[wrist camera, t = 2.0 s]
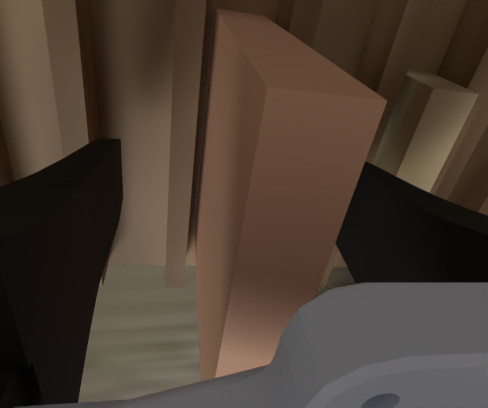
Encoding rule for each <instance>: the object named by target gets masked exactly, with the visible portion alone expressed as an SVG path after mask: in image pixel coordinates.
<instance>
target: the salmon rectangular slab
mask: <svg viewBox="0 0 488 408" xmlns="http://www.w3.org/2000/svg"><path fill="white" fill-rule="evenodd" d="M386 103H387V100H386V99H384V98H383V97H381V96H380V95H378V94H377V93H375V92H374V91H373V90H371V89H370V88H368V87H367V86H365V85H364V84H362V83H361V82H360V81H358V80H357V79H355V78H354V77H352V76H351V75H349V74H348V73H347V72H345V71H344V70H342V69H341V68H339V67H338V66H336V65H335V64H333V63H332V62H331V61H329V60H328V59H326V58H325V57H323V56H322V55H320V54H319V53H318V52H316V51H315V50H313V49H312V48H310V47H309V46H307V45H306V44H305V43H303V42H302V41H300V40H299V39H297V38H296V37H294V36H293V35H292V34H290V33H289V32H287V31H286V30H284V29H283V28H281V27H280V26H279V25H277V24H276V23H274V22H273V21H271V20H270V19H268V18H267V17H266V16H263V15H256V14H250V13H243V12H237V11H230V10H224V9H217V8H215V14H214V25H213V36H212V47H211V58H210V69H209V80H208V91H207V102H206V113H205V124H204V135H203V146H202V157H201V168H200V179H199V190H198V201H197V212H196V223H195V255H196V278H197V300H198V323H199V345H200V368H201V381H205V380H209V379H213V378H217V377H221V376H225V375H229V374H233V373H237V372H241V371H245V370H249V369H253V368H257V367H261V366H265V365H268V364H270V363H271V361H272V359H273V357H274V355H275V352H276V349H277V346H278V343H279V340H280V337H281V333H282V331H283V330H284V328H285V327H286V326H287V324H288V323H289V321H290V320H291V319H292V317H293V316H294V314H295V313H296V312H297V310H298V309H299V308H300V307H301V305H303V304H305V303H306V302H308V301H310V300H311V299H313V298H315V296H316V294H317V291H318V288H319V286H320V283H321V280H322V277H323V275H324V272H325V269H326V266H327V264H328V261H329V258H330V256H331V253H332V250H333V247H334V245H335V242H336V239H337V237H338V234H339V231H340V228H341V226H342V223H343V220H344V218H345V215H346V212H347V209H348V207H349V204H350V201H351V198H352V196H353V193H354V190H355V188H356V185H357V182H358V179H359V177H360V174H361V171H362V169H363V166H364V163H365V160H366V158H367V155H368V152H369V149H370V147H371V144H372V141H373V139H374V136H375V133H376V130H377V128H378V125H379V122H380V120H381V117H382V114H383V111H384V109H385V106H386Z"/></svg>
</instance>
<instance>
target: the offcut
mask: <svg viewBox="0 0 488 408" xmlns="http://www.w3.org/2000/svg"><path fill="white" fill-rule="evenodd" d="M478 95H479V94H477V93H475V92H473V91H471V90H469V89H466V88H464V87H462V86H460V85H458V84H455V83H453V82H451V81H449V80H447V79H445V78H442V77H440V76H438V75H436V74H434V73H431V72H429V71H424V70H416V69H408V71H407V74H406V77H405V79H404V82H403V84H402V87H401V90H400V92H399V95H398V98H397V100H396V103H395V105H394V108H393V111H392V113H391V116H390V119H389V121H388V124H387V126H386V129H385V132H384V134H383V137H382V140H381V142H380V145H379V147H378V150H377V153H376V155H375V158H374V161H373V163H372V164H373V165H375V166H377V167H379V168H381V169H383V170H385V171H387V172H389V173H391V174H392V175H394V176H396V177H398V178H400V179H402V180H404V181H406V182H408V183H410V184H412V185H414V186H416V187H418V188H420V189H422V190H424V191H427V192H430V190H431V188H432V186H433V184H434V182H435V180H436V179H437V177H438V175H439V173H440V171H441V169H442V167H443V165H444V163H445V161H446V159H447V157H448V155H449V153H450V151H451V149H452V147H453V145H454V143H455V141H456V139H457V137H458V135H459V133H460V131H461V129H462V127H463V125H464V123H465V121H466V119H467V117H468V115H469V113H470V111H471V109H472V107H473V105H474V103H475V101H476V99H477V97H478Z"/></svg>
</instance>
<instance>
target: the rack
mask: <svg viewBox="0 0 488 408" xmlns="http://www.w3.org/2000/svg"><path fill="white" fill-rule="evenodd" d="M215 8H217V9H224V10H230V11H237V12H243V13H250V14H256V15H263V16H266V17H267V18H268V19H270V20H271V21H273V22H274V23H276V24H277V25H279V26H280V27H281V28H283V29H284V30H286V31H287V32H289V33H290V34H292V35H293V36H294V37H296V38H297V39H299V40H300V41H302V42H303V43H305V44H306V45H307V46H309V47H310V48H312V49H313V50H315V51H316V52H318V53H319V54H320V55H322V56H323V57H325V58H326V59H328V60H329V61H331V62H332V63H333V64H335V65H336V66H338V67H339V68H341V69H342V70H344V71H345V72H347V73H348V74H349V75H351V76H352V77H354V78H355V79H357V80H358V81H360V82H361V83H362V84H364V85H365V86H367V87H368V88H370V89H371V90H373V91H374V92H375V93H377V94H378V95H380V96H381V97H383V98H384V99H386V100H387V103H386V106H385V109H384V111H383V114H382V117H381V120H380V122H379V125H378V128H377V130H376V133H375V136H374V139H373V141H372V144H371V147H370V149H369V152H368V155H367V158H366V160H365V161H366V162H369V163H371V164H372V163H373V161H374V158H375V155H376V153H377V150H378V147H379V145H380V142H381V140H382V137H383V134H384V132H385V129H386V126H387V124H388V121H389V119H390V116H391V113H392V111H393V108H394V105H395V103H396V100H397V98H398V95H399V92H400V90H401V87H402V84H403V82H404V79H405V77H406V74H407V71H408V69H416V70H424V71H429V72H431V73H434V74H436V75H438V76H440V77H442V78H445V79H447V80H449V81H451V82H453V83H455V84H458V85H460V86H462V87H464V88H466V89H469V90H471V91H473V92H475V93H477V94H479V95H478V97H477V99H476V101H475V103H474V105H473V107H472V109H471V111H470V113H469V115H468V117H467V119H466V121H465V123H464V125H463V127H462V129H461V131H460V133H459V135H458V137H457V139H456V141H455V143H454V145H453V147H452V149H451V151H450V153H449V155H448V157H447V159H446V161H445V163H444V165H443V167H442V169H441V171H440V173H439V175H438V177H437V179H436V180H435V182H434V184H433V186H432V188H431V190H430V192H429V193H431V194H433V195H435V196H437V197H440V198H442V199H444V200H447V201H449V202H452V203H455V204H457V205H460V206H462V207H465V208H467V209H470V210H473V211H476V212H479V213H482V214H485V215H488V0H0V186H3V185H6V184H9V183H11V182H14V181H17V180H19V179H22V178H24V177H27V176H29V175H31V174H33V173H36V172H38V171H40V170H42V169H44V168H46V167H48V166H49V165H51V164H53V163H55V162H57V161H59V160H61V159H63V158H65V157H66V156H68V155H70V154H71V153H73V152H75V151H77V150H78V149H80V148H82V147H83V146H85V145H87V144H88V143H90V142H92V141H93V140H95V139H97V138H111V139H121V156H122V179H123V201H122V208H121V214H120V220H119V224H118V227H117V230H116V234H115V237H114V240H113V243H112V246H111V249H110V252H109V255H108V258H107V262H106V265H105V268H104V271H103V274H102V277H101V280H100V284H99V287H103V283H104V279H105V274H106V270H107V266H108V265H140V266H166V267H165V287H184V279H185V266H196V255H195V223H196V212H197V201H198V190H199V179H200V168H201V157H202V146H203V135H204V124H205V113H206V102H207V91H208V80H209V69H210V58H211V47H212V36H213V25H214V14H215ZM333 267H347V265H346V263H345V261H344V259H343V257H342V255H341V253H340V251H339V249H338V248H337V246H336V244H335V245H334V247H333V250H332V253H331V256H330V258H329V261H328V264H327V266H326V269H325V272H324V275H323V277H322V280H321V283H320V286H326V284H327V281H328V279H329V276H330V273H331V271H332V268H333Z"/></svg>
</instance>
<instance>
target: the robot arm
mask: <svg viewBox="0 0 488 408" xmlns="http://www.w3.org/2000/svg"><path fill="white" fill-rule="evenodd" d="M122 201H123V179H122V156H121V139H111V138H97V139H95V140H93V141H92V142H90V143H88V144H87V145H85V146H83V147H82V148H80V149H78V150H77V151H75V152H73V153H71V154H70V155H68V156H66V157H65V158H63V159H61V160H59V161H57V162H55V163H53V164H51V165H49V166H48V167H46V168H44V169H42V170H40V171H38V172H36V173H33V174H31V175H29V176H27V177H24V178H22V179H19V180H17V181H14V182H11V183H9V184H6V185H3V186H0V408H488V215H485V214H482V213H479V212H476V211H473V210H470V209H467V208H465V207H462V206H460V205H457V204H455V203H452V202H449V201H447V200H444V199H442V198H440V197H437V196H435V195H433V194H431V193H429V192H427V191H424V190H422V189H420V188H418V187H416V186H414V185H412V184H410V183H408V182H406V181H404V180H402V179H400V178H398V177H396V176H394V175H392V174H391V173H389V172H387V171H385V170H383V169H381V168H379V167H377V166H375V165H373V164H371V163H369V162H366V161H365V163H364V166H363V169H362V171H361V174H360V177H359V179H358V182H357V185H356V188H355V190H354V193H353V196H352V198H351V201H350V204H349V207H348V209H347V212H346V215H345V218H344V220H343V223H342V226H341V228H340V231H339V234H338V237H337V239H336V242H335V244H336V246H337V248H338V249H339V251H340V253H341V255H342V257H343V259H344V261H345V263H346V265H347V267H348V269H349V271H350V273H351V275H352V277H353V279H354V281H355V283H356V284H352V285H347V286H342V287H336V288H331V289H329V290H327V291H325V292H323V293H322V294H320V295H318V296H317V297H315V298H313V299H311V300H310V301H308V302H306V303H305V304H303V305H301V307H300V308H299V309H298V310H297V312H296V313H295V314H294V316H293V317H292V319H291V320H290V321H289V323H288V324H287V326H286V327H285V328H284V330H283V331H282V333H281V337H280V340H279V343H278V346H277V349H276V352H275V355H274V357H273V359H272V361H271V363H270V364H268V365H265V366H261V367H257V368H253V369H249V370H245V371H241V372H237V373H233V374H229V375H225V376H221V377H217V378H213V379H209V380H205V381H201V382H197V383H193V384H189V385H185V386H181V387H177V388H173V389H169V390H165V391H161V392H157V393H153V394H149V395H145V396H141V397H137V398H133V399H129V400H116V401H100V402H84V403H78V399H79V392H80V386H81V380H82V374H83V368H84V362H85V356H86V350H87V345H88V339H89V334H90V328H91V323H92V317H93V312H94V307H95V302H96V297H97V292H98V288H99V284H100V280H101V277H102V274H103V271H104V268H105V265H106V262H107V258H108V255H109V252H110V249H111V246H112V243H113V240H114V237H115V234H116V230H117V227H118V224H119V220H120V214H121V208H122Z"/></svg>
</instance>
